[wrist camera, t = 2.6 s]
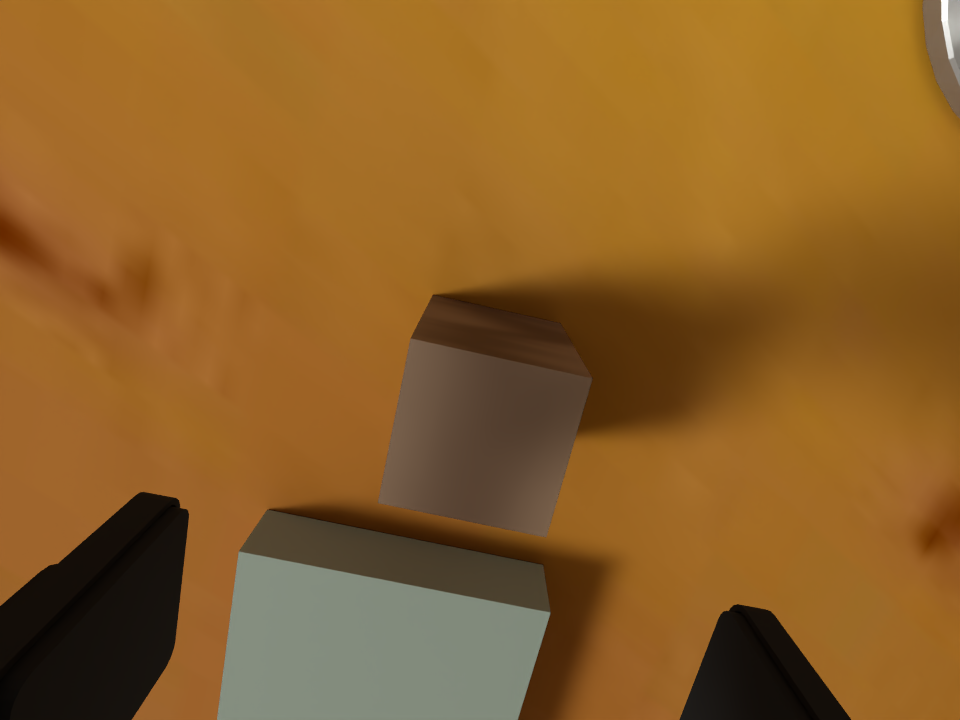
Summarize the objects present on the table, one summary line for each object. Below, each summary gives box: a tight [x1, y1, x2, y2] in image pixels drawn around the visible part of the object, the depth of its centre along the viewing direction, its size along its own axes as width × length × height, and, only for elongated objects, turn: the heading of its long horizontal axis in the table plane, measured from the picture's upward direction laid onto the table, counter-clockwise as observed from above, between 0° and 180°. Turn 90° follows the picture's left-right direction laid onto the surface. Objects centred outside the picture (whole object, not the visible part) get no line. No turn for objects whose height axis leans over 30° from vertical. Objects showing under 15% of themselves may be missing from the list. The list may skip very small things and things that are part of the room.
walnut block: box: [378, 295, 593, 537], centre depth 20 cm, size 5×5×7 cm
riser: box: [217, 510, 551, 720], centre depth 25 cm, size 12×12×3 cm
